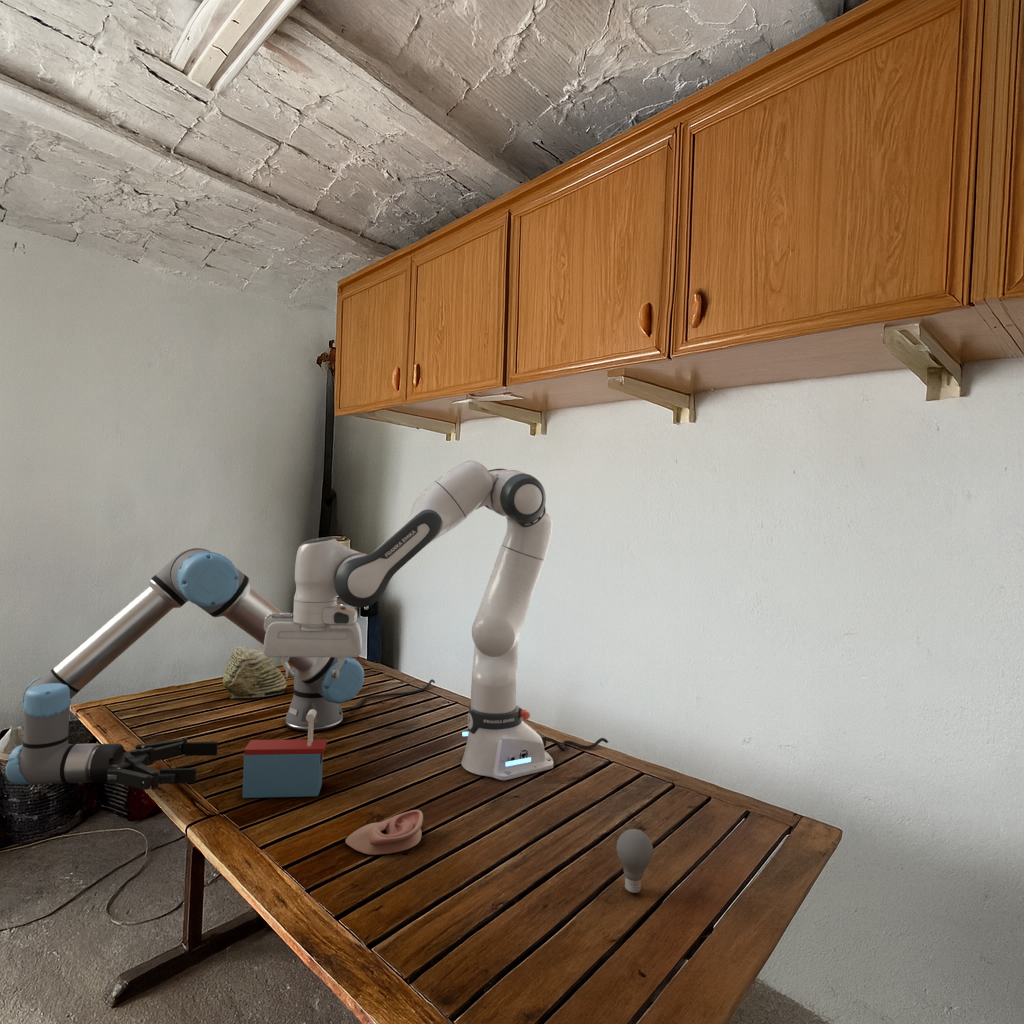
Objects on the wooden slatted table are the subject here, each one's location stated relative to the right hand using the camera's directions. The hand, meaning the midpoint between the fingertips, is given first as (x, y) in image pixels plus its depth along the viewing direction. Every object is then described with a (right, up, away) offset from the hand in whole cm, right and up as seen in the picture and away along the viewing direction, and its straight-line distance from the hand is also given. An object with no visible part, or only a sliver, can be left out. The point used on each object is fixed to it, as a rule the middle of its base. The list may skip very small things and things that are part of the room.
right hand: (312, 677), depth 136 cm
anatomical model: (+19, -26, -18) cm, 37 cm away
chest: (-6, -24, 0) cm, 25 cm away
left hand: (-21, -17, -3) cm, 27 cm away
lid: (-5, -15, 0) cm, 16 cm away
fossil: (-38, -22, +62) cm, 76 cm away
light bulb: (+63, -28, -30) cm, 75 cm away
